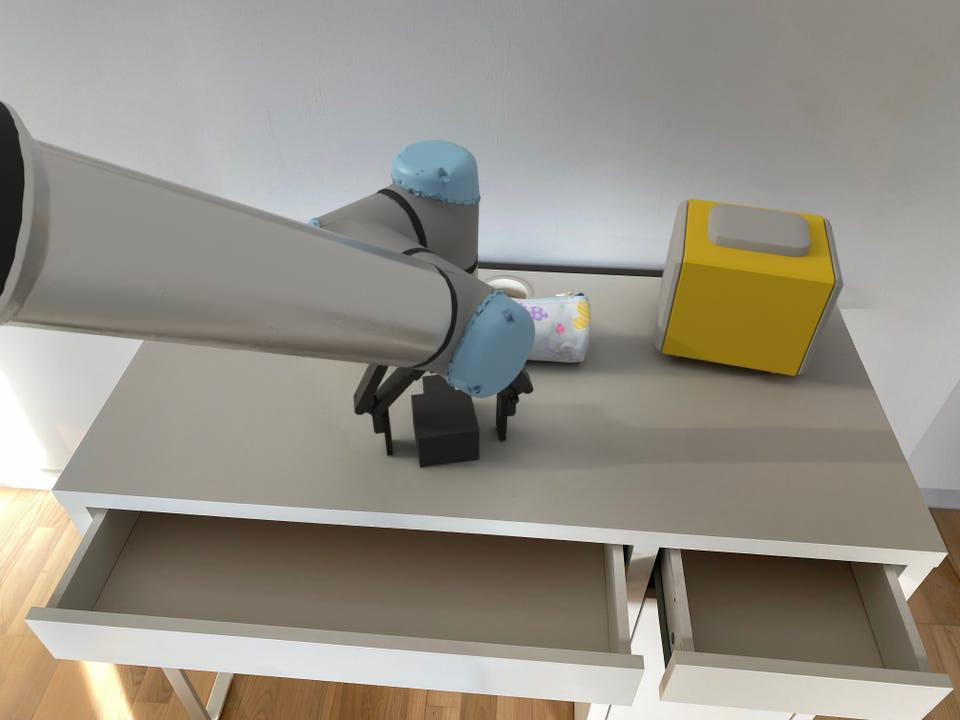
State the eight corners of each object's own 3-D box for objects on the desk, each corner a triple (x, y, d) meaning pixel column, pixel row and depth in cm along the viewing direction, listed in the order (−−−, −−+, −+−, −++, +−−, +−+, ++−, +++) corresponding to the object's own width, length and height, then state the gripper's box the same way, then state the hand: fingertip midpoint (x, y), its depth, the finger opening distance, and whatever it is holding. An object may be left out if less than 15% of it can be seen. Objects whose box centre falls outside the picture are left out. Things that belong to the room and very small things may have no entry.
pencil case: (584, 333, 101) (592, 278, 95) (590, 375, 95) (599, 319, 88) (437, 330, 101) (434, 275, 95) (433, 372, 95) (430, 316, 89)
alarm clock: (793, 316, 105) (836, 204, 92) (801, 389, 93) (852, 272, 81) (657, 295, 108) (681, 184, 96) (649, 363, 97) (675, 247, 84)
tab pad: (419, 467, 83) (417, 438, 79) (410, 406, 90) (408, 377, 87) (479, 459, 84) (479, 430, 80) (465, 400, 91) (465, 371, 88)
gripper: (551, 264, 76) (539, 404, 90) (313, 287, 73) (339, 430, 87) (570, 307, 71) (554, 449, 85) (314, 334, 67) (342, 478, 81)
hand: (445, 439), depth 86 cm, fingers open, 13 cm apart
